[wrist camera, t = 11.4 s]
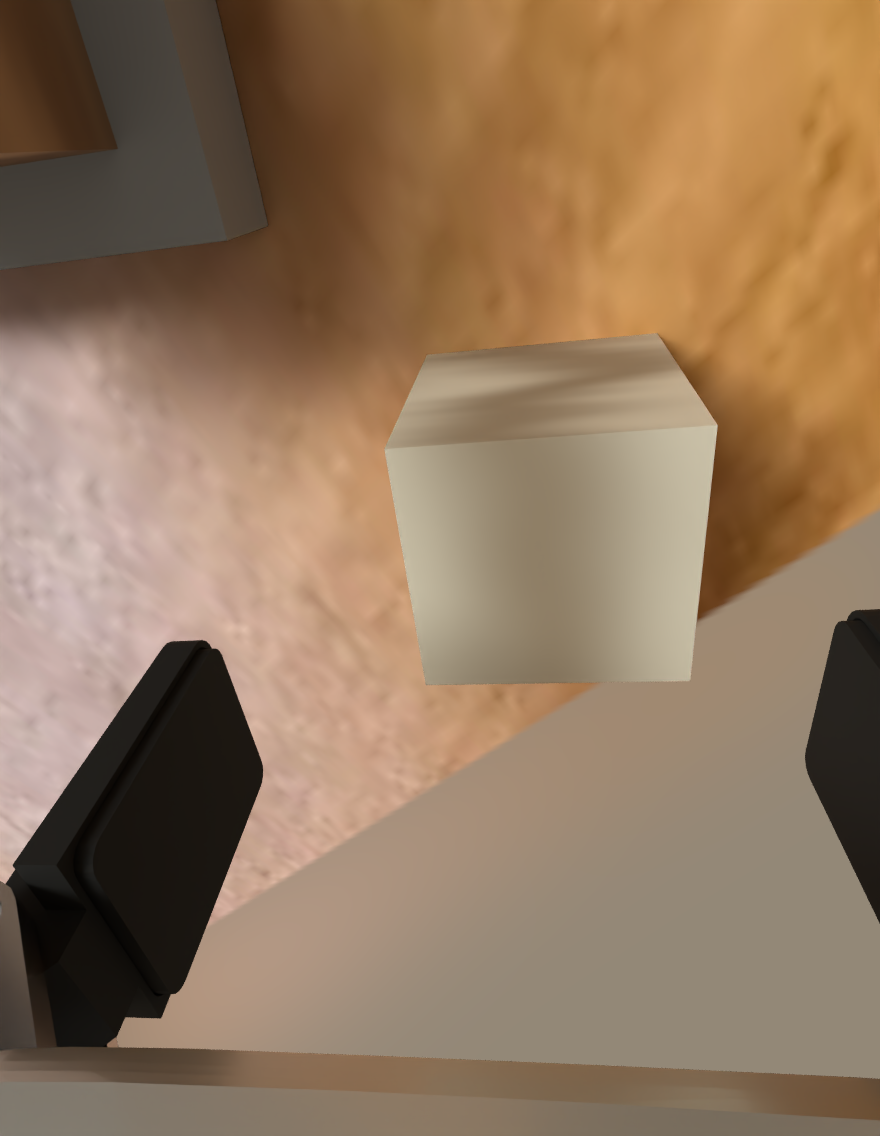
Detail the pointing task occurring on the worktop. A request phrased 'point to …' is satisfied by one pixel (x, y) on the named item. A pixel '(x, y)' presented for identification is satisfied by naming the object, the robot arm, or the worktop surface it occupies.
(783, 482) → the worktop surface
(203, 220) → the slate slab
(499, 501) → the maple block
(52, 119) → the walnut block
